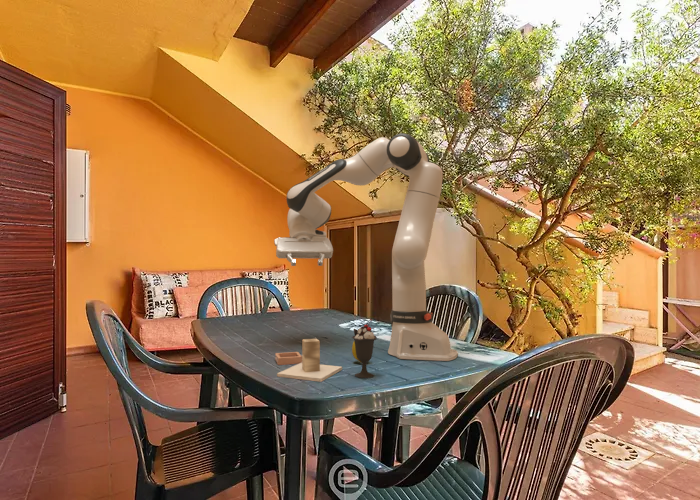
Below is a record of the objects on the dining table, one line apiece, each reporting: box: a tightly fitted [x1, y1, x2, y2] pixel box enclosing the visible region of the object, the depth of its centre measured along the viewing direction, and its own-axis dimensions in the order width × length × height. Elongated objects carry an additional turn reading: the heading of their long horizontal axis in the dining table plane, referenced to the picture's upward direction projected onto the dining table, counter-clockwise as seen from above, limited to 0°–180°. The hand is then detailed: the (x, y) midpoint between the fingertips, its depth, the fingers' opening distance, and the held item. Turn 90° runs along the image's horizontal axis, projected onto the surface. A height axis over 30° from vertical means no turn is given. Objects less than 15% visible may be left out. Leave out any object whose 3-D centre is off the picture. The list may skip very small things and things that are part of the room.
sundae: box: [351, 318, 378, 379], centre depth 109 cm, size 7×7×15 cm
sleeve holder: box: [274, 351, 302, 366], centre depth 125 cm, size 7×7×2 cm
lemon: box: [351, 341, 362, 364], centre depth 124 cm, size 6×6×8 cm
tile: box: [276, 363, 343, 383], centre depth 112 cm, size 13×13×1 cm
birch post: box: [301, 338, 321, 372], centre depth 112 cm, size 4×4×8 cm
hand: (307, 264), depth 142 cm, fingers open, 8 cm apart
